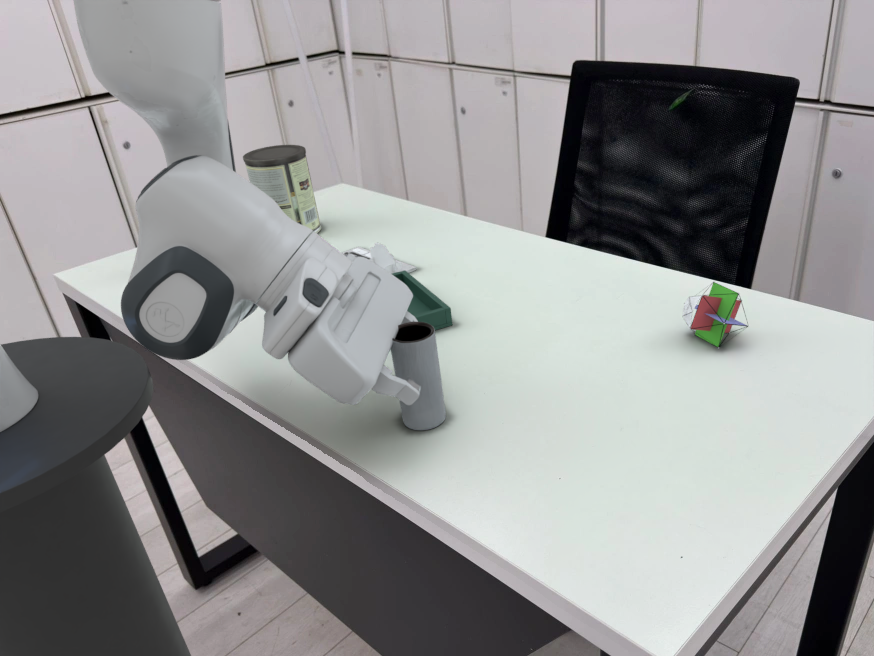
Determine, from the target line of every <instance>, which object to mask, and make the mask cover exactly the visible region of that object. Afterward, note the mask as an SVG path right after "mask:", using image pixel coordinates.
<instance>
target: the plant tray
mask: <svg viewBox="0 0 874 656" xmlns="http://www.w3.org/2000/svg"><path fill="white" fill-rule="evenodd" d="M392 275H393V276H395V277H396V278H398V279H399V280H400V281H402V282H403V283H404V284H406V285H407V286H408V288H409V289H410V291H411V292H412V294H413V298H412V300H411V303H410V305H409V307H408V310H407V311H408V312H409V313H411V314H412V315H413V316H414V317H415V318H416V319H417V321H418V322H425V323H428V324H430V325H432V326H433V327H434V329H435V331H438V330H441V329H445V328H447V327H450V326H453V315H452V309H451V307H450V306H449V305H448V304H447V303H445V302H444V301H443V300H442V299H440V298H439V297H438V296H437V295H436V294H435V293H433V292H432V291H431V290H430V289H429V288H428V287H426V285H425V286H424V284H423V283H421V282H420V281H419V280H417V279H416V278H415V277H414V276H413V275H411V274H410V273H408V272H407V271H405V270H404V271H400V272H396V273H392Z"/></svg>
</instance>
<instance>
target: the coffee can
mask: <svg viewBox="0 0 874 656" xmlns="http://www.w3.org/2000/svg"><path fill="white" fill-rule="evenodd" d="M306 154H307V150H306V147H304V146H303V145H299V144H279V145H278V144H277V145H271V146H270V145H269V146H264V147H259V148H257V149H254V150H250V151H248V152H247V153H245V154H243V156H242V160H243V163H244V164H245V168H246V173H247V177H248V181H249V182H251V183H252V184H253V185H255V186H256V187H257V188H259V189H260V190H261V191H263V192H264V193H265V194H267V195H268V196H269V197H271V198H272V199H273V200H274V201H275V202H276V203H277V204H278V205H279V207H280V208H281V210H282V211H283V212H284V213H285V214H286V215H287V216H288V217H289V218H291V219H292V220H294V221H295V222H297V223H299V224H301V225H304V226H306V227H308V228H310V229H312V230H313V232H315V233H317V234H318V233H319V232H321V230H322V225H321V222H320V217H319V212H318V208H317V202H316V197H315V192H314V188H313V183H312V178H311V177H312V176H311V173H310V169H309V163H308V159H307V155H306ZM311 234H312V233H311Z"/></svg>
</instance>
